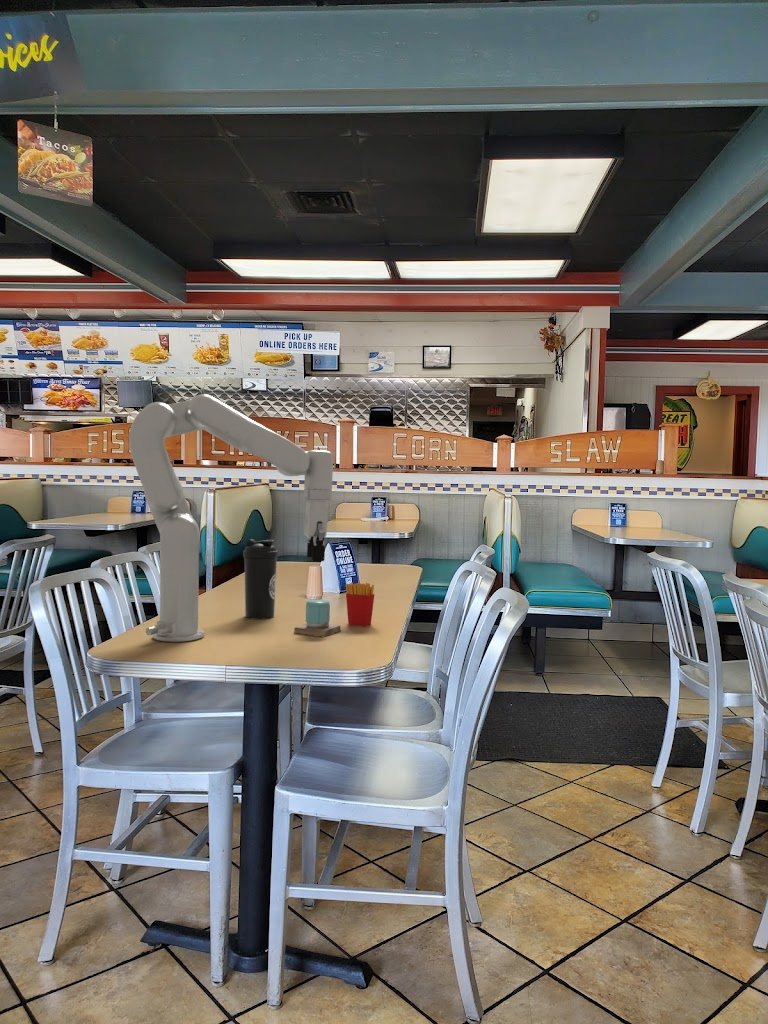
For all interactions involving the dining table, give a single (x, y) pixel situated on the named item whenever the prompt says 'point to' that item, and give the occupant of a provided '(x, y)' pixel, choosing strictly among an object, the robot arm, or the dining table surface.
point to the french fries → (359, 603)
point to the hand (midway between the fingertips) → (315, 558)
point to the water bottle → (260, 578)
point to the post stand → (317, 629)
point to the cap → (317, 611)
